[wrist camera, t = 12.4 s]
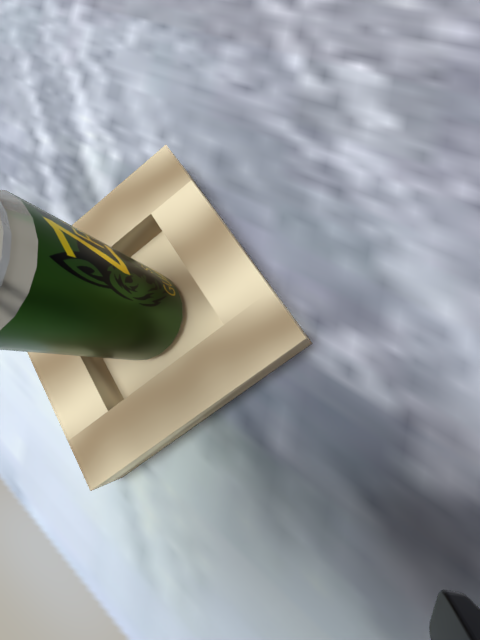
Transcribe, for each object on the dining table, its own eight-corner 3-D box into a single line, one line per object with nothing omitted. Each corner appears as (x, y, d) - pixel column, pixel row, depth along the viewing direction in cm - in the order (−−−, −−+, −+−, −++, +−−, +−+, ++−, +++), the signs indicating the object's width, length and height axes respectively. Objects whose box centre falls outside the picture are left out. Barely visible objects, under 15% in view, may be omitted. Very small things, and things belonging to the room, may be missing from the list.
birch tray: (313, 344, 21) (306, 338, 18) (128, 474, 23) (90, 491, 20) (190, 175, 25) (165, 144, 22) (41, 299, 27) (-2, 288, 24)
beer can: (165, 375, 22) (-42, 373, 10) (97, 339, 23) (-144, 304, 12) (202, 291, 22) (38, 198, 10) (131, 262, 24) (-75, 154, 12)
